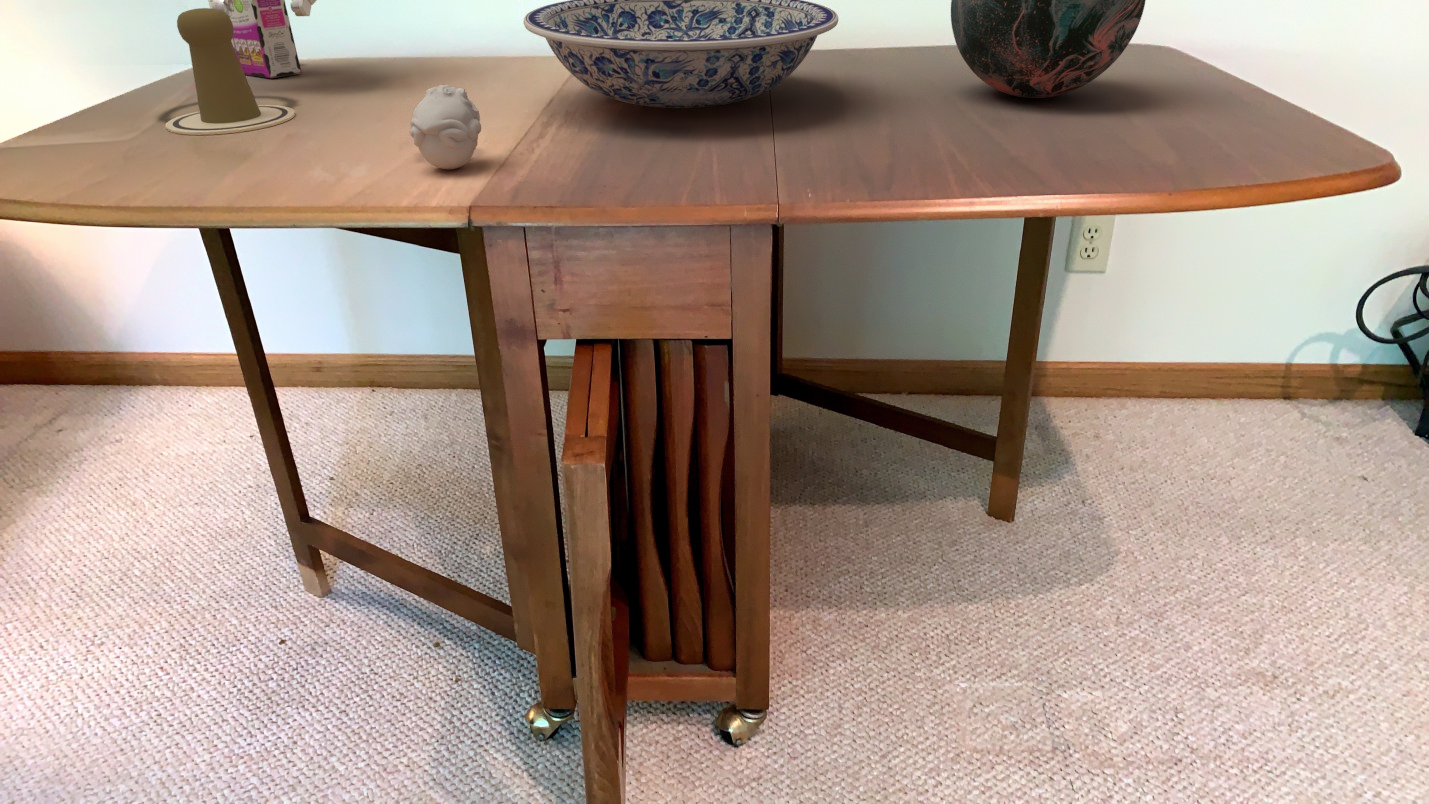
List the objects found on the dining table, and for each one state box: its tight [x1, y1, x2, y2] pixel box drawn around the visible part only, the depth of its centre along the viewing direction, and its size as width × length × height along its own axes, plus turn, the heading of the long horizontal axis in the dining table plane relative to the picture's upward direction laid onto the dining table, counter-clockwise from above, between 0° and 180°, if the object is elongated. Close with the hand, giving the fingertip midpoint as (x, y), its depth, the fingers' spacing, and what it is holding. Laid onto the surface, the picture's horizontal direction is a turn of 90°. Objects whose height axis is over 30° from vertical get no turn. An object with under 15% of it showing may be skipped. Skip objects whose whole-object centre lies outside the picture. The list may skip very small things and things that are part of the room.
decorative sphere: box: [950, 0, 1146, 99], centre depth 97 cm, size 20×20×20 cm
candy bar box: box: [207, 0, 302, 79], centre depth 119 cm, size 11×5×16 cm, turn 55°
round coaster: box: [165, 104, 296, 136], centre depth 98 cm, size 13×13×1 cm
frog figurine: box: [409, 84, 482, 170], centre depth 79 cm, size 6×7×7 cm
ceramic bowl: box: [523, 0, 839, 109], centre depth 100 cm, size 34×34×10 cm
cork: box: [176, 7, 261, 124], centre depth 96 cm, size 6×6×11 cm
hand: (260, 13), depth 104 cm, fingers open, 8 cm apart
